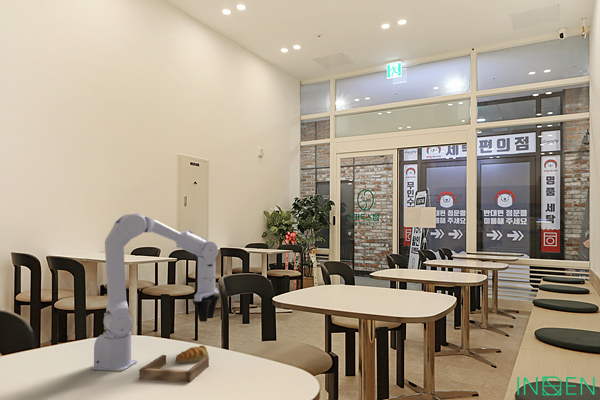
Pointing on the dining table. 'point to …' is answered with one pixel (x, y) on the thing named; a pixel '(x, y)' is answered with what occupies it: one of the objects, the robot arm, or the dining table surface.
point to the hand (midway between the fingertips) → (206, 319)
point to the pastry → (192, 355)
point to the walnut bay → (171, 371)
